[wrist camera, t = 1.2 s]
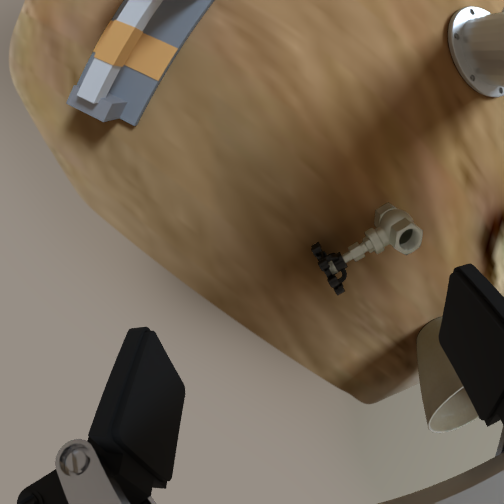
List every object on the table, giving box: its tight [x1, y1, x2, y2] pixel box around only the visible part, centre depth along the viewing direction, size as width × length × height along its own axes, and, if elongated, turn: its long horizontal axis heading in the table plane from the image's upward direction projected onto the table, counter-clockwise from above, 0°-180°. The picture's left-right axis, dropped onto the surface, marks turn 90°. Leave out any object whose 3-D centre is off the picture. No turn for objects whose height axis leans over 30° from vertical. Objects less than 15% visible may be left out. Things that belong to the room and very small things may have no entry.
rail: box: [66, 0, 214, 126], centre depth 22 cm, size 23×9×6 cm, turn 148°
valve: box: [311, 203, 423, 295], centre depth 34 cm, size 7×7×12 cm
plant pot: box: [417, 317, 479, 433], centre depth 39 cm, size 15×15×16 cm
